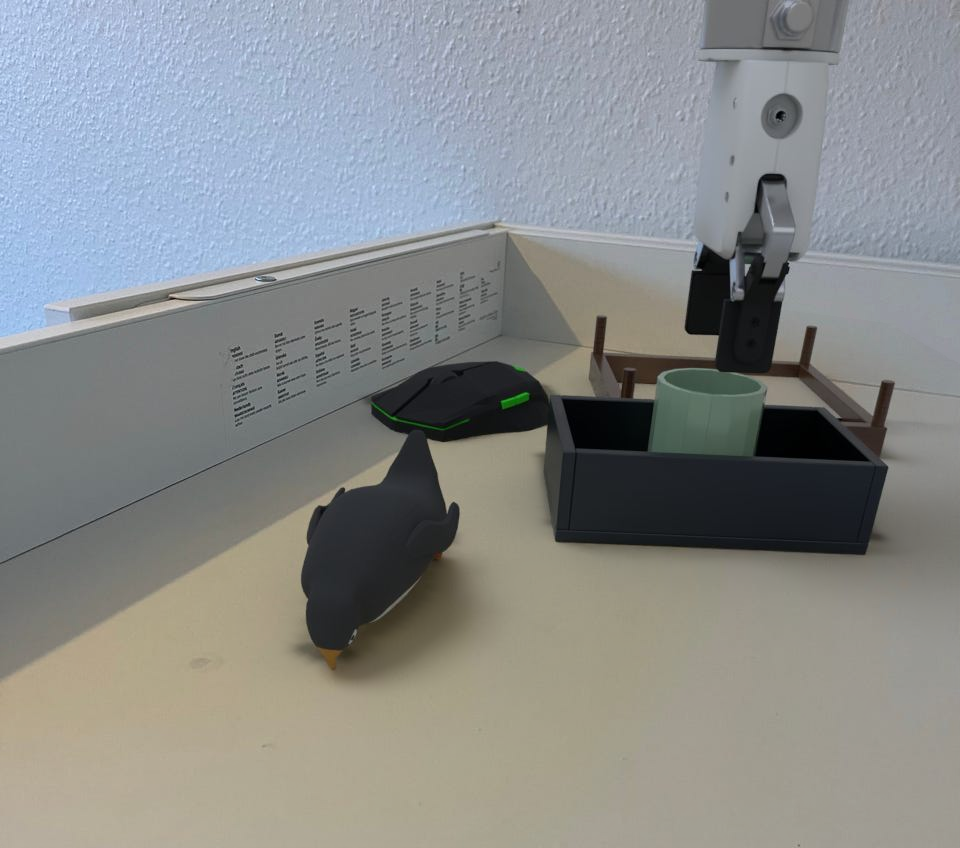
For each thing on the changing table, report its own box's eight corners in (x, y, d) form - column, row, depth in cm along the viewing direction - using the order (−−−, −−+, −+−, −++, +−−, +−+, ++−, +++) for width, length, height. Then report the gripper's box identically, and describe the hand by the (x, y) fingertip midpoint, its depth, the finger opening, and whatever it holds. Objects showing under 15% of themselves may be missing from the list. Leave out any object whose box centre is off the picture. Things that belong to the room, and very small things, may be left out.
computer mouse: (587, 415, 86) (591, 368, 84) (445, 450, 76) (447, 399, 74) (496, 386, 93) (498, 342, 91) (355, 415, 83) (354, 367, 81)
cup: (731, 484, 70) (752, 370, 66) (755, 520, 64) (779, 398, 60) (636, 479, 70) (651, 365, 66) (650, 516, 64) (668, 393, 60)
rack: (803, 387, 98) (816, 325, 95) (880, 458, 79) (899, 383, 76) (588, 377, 97) (594, 314, 94) (614, 446, 79) (623, 370, 76)
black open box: (807, 484, 73) (824, 407, 70) (866, 555, 62) (889, 466, 59) (543, 472, 72) (549, 394, 70) (554, 541, 61) (563, 451, 59)
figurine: (354, 585, 60) (249, 665, 46) (363, 420, 57) (252, 451, 43) (471, 603, 59) (400, 690, 45) (487, 434, 56) (414, 472, 42)
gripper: (898, 27, 46) (824, 391, 55) (795, 40, 61) (750, 324, 70) (739, 22, 46) (689, 387, 54) (675, 36, 61) (644, 320, 70)
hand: (723, 351), depth 62 cm, fingers open, 9 cm apart
